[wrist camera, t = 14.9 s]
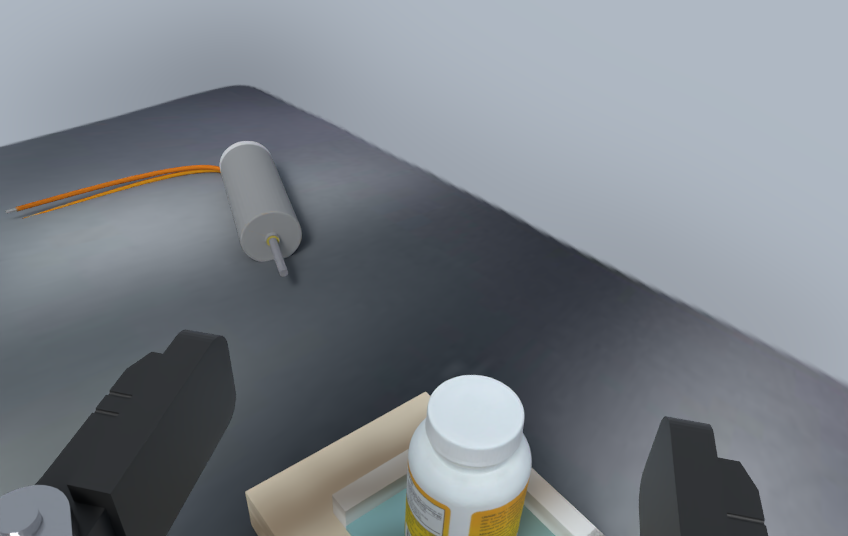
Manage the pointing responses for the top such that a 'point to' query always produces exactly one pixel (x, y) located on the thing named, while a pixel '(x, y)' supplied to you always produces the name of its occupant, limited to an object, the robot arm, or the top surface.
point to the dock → (379, 488)
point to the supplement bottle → (468, 462)
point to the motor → (233, 200)
